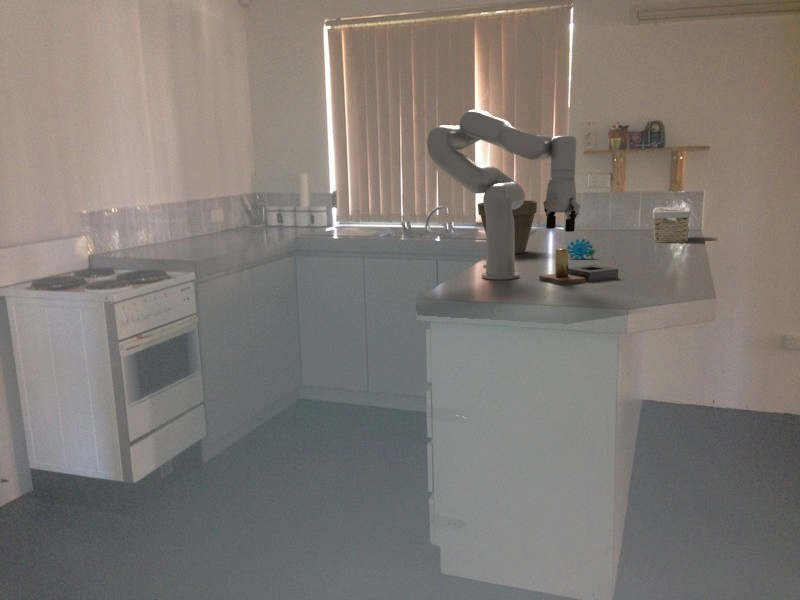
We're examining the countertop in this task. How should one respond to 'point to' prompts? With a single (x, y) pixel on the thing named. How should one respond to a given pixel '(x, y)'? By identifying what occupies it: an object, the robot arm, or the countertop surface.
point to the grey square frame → (593, 272)
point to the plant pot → (518, 222)
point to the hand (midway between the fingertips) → (560, 229)
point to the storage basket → (671, 224)
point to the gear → (581, 249)
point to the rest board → (562, 279)
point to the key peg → (561, 263)
